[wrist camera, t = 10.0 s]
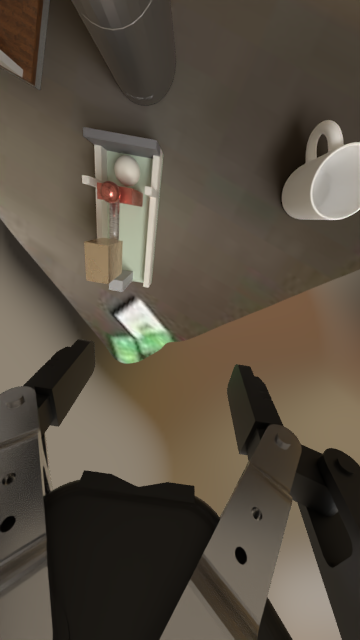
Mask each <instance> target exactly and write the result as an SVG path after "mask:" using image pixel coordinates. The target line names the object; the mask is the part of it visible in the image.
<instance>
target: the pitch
mask: <svg viewBox="0 0 360 640" xmlns="http://www.w3.org/2000/svg"><path fill="white" fill-rule="evenodd" d="M83 137H85V138H86V139H87V140H89V141H90V142H92V143H93V144H94V150H95V178H92V177H90V176H86V175H82V183H83V184H87V185H90V186H93V187H96V219H97V239H99V238H109V239H110V224H109V203H108V202H106V201H105V200H101V199H97V182H98V183H104V182H105V181H112V182H114V183H116V184H117V185H118V186H121V187H127V188H132V189H135V190H137V191H139V192H141V193H143V205H142V207H140V206H134V205H128V204H122V203H120V213H119V240H121V241H123V245H122V273H121V274H120V275H119V276H118V277H117V278H115V279H114V280H113V281H112V282H110V283H109V290H114V291H120V292H123V291H124V290H125V289H126V288H127V286H128V285H129V284H130V283H131V282H132V281H136V282H142V283H144V285H143V287H149V286H150V284H151V282H152V272H153V261H154V250H155V239H156V229H157V218H158V207H159V197H160V186H161V175H162V165H163V152H162V150H161V148H160V146H159V144H158V141H157V140H152V139H147V138H141V137H136V136H130V135H125V134H119V133H114V132H109V131H103V130H98V129H92V128H87V127H83ZM123 155H128V156H131V157H132V158H134V159H135V160H136V162H137V163H138V165H139V168H140V178H139V181H138V182H137V183H136V184H135V185H133V186H125V185H123V184H122V183H120V182H119V181H118V179H117V177H116V175H115V171H114V166H115V162H116V160H117V159H118V158H119V157H121V156H123Z"/></svg>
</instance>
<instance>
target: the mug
mask: <svg viewBox="0 0 360 640" xmlns="http://www.w3.org/2000/svg"><path fill="white" fill-rule="evenodd" d="M322 134H324V135H325V136H326V138H327V142H328V153H326V154H324V155H322V156H320V157H318V158H317V143H318V139H319V137H320V136H321V135H322ZM282 205H283V208H284V210H285V211H286V213H287V214H288V215H290V216H291V217H293V218H296V219H311V220H339V219H343V218H346V217H348V216H350V215H352V214H354V213H356V212H357V211H358V210H360V142H354V143H349V144H346V145H344V144H343V136H342V132H341V129H340V127H339V126H338V124H337V123H336V122H334V121H331V120H326V121H323V122H321V123H319V124H318V125H317V126H316V127H315V128H314V130H313V131H312V133H311V134H310V137H309V139H308V143H307V147H306V163H305V164H304V165H302V166H300V167H299V168H297V169H296V170H295V171H294V172H293V173H292V174H291V175H290V176H289V178H288V179H287V181H286V183H285V185H284V188H283V191H282Z"/></svg>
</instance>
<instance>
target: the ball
mask: <svg viewBox="0 0 360 640" xmlns="http://www.w3.org/2000/svg"><path fill="white" fill-rule="evenodd" d="M114 171H115V175H116V177H117V179H118V181H119V182H120V183H122V184H123V185H125V186H133V185H135V184H136V183H137V182H138V181H139V178H140V168H139V165H138V163H137V162H136V160H135V159H134V158H132V157H131V156H128V155H123V156H121V157H119V158H118V159H117V160H116V162H115V166H114Z"/></svg>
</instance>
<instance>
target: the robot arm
mask: <svg viewBox="0 0 360 640" xmlns="http://www.w3.org/2000/svg"><path fill="white" fill-rule="evenodd" d="M71 1H72V3H73V4H74V6H75V8H76V10H77V12H78V14H79V15H80V17H81V19H82V21H83V23H84V24H85V26H86V28H87V30H88V32H89V33H90V35H91V37H92V39H93V41H94V42H95V44H96V46H97V48H98V50H99V51H100V53H101V55H102V57H103V59H104V60H105V62H106V64H107V66H108V68H109V70H110V71H111V73H112V75H113V77H114V79H115V80H116V82H117V84H118V86H119V87H120V89H121V90H122V92H123V93H124V95H125V96H126V97H127V98H128V99H129V100H131V101H133V102H134V103H136V104H139V105H152V104H155V103H156V102H158V101H160V100H161V99H162V98H163V97H164V96H165V95H166V93H167V92H168V90H169V89H170V86H171V84H172V82H173V78H174V74H175V67H176V54H175V43H174V32H173V21H172V11H171V1H170V0H71ZM94 367H95V350H94V342H93V341H88V340H82V339H78V340H77V341H76V342H75V343H74V344H73V345H72V346H71V347H65V348H63V349H61V350H59V351H58V352H56V353H55V355H53V356H52V358H51V359H50V360H49V361H48V362H47V363H45V365H44V366H42V367H41V368H40V369H39V370H38V372H37V373H35V375H34V376H33V377H31V378H30V380H29V381H27V383H25V384H24V386H21V387H15V388H11V389H9V390H7V391H5V392H3V393H1V394H0V640H292V638H291V636H290V634H289V633H288V631H287V629H286V628H285V626H284V624H283V623H282V621H281V619H280V618H279V616H278V614H277V613H276V611H275V609H274V607H273V606H272V604H271V602H270V601H269V599H268V597H267V595H268V592H269V588H270V584H271V580H272V576H273V573H274V569H275V565H276V561H277V558H278V554H279V550H280V546H281V542H282V539H283V535H284V531H285V527H286V523H287V520H288V516H289V512H290V509H291V505H292V500H294V501H296V502H298V506H299V509H300V512H301V515H302V518H303V521H304V524H305V527H306V530H307V533H308V536H309V539H310V542H311V546H312V548H313V552H314V554H315V558H316V561H317V564H318V567H319V570H320V573H321V576H322V579H323V582H324V585H325V588H326V591H327V595H328V598H329V600H330V604H331V607H332V610H333V613H334V616H335V619H336V622H337V626H338V628H339V632H340V635H341V638H342V640H360V466H359V465H358V464H357V463H356V462H355V461H354V460H353V459H352V458H351V457H350V456H348V455H347V454H345V453H344V452H342V451H340V450H337V449H333V448H329V449H326V450H325V451H324V453H323V454H321V453H319V452H317V451H314V450H312V449H310V448H308V447H305V446H303V445H301V444H300V442H299V440H298V438H297V437H296V436H295V435H294V433H292V432H291V431H290V430H289V429H287V428H286V427H284V426H283V424H282V422H281V420H280V417H279V415H278V413H277V410H276V408H275V406H274V404H273V401H272V400H271V397H270V395H269V392H268V390H267V388H266V386H265V384H264V383H263V382H262V380H261V379H260V378H259V377H255V376H254V375H253V372H252V370H251V367H249V366H244V365H237V364H236V365H235V367H234V369H233V372H232V375H231V378H230V381H229V384H228V388H227V394H228V401H229V406H230V410H231V415H232V420H233V425H234V430H235V435H236V440H237V445H238V450H239V454H244V455H248V460H249V462H248V464H247V466H246V468H245V470H244V472H243V474H242V476H241V478H240V479H239V481H238V483H237V485H236V487H235V489H234V491H233V493H232V495H231V497H230V499H229V501H228V503H227V504H226V506H225V508H224V510H223V512H222V514H221V516H220V517H219V516H218V515H217V513H216V512H215V511H214V510H213V509H212V508H211V507H210V506H209V505H208V504H207V503H205V502H204V501H203V500H201V499H199V498H198V497H196V496H194V486H190V485H183V484H176V483H169V482H166V483H160V484H154V485H148V486H142V487H137V486H134V485H132V484H130V483H128V482H126V481H124V480H122V479H120V478H118V477H116V476H114V475H112V474H106V473H99V472H91V471H84V472H83V475H82V477H81V479H80V480H76V481H73V482H69V483H67V484H65V485H62V486H60V487H58V488H56V489H55V490H53V489H52V483H51V477H50V470H49V461H48V454H47V444H46V436H45V431H46V430H47V429H48V427H49V426H50V425H53V426H59V425H60V424H61V422H62V421H63V419H64V418H65V416H66V415H67V413H68V411H69V410H70V408H71V407H72V405H73V403H74V402H75V400H76V399H77V397H78V396H79V394H80V392H81V391H82V389H83V388H84V386H85V385H86V383H87V381H88V380H89V378H90V376H91V375H92V373H93V371H94Z"/></svg>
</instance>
